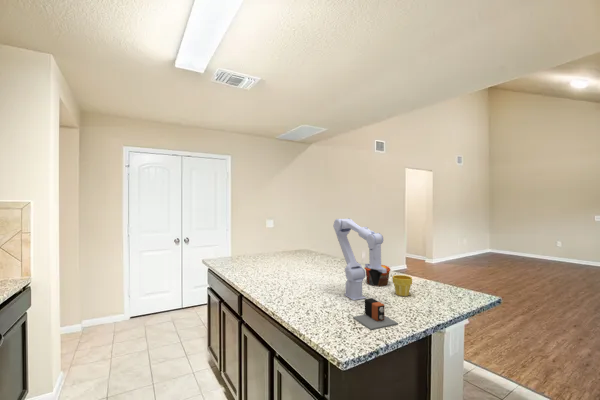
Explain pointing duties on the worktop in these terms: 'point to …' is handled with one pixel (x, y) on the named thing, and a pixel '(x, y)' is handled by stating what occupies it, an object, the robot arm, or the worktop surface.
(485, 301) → the worktop surface
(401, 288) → the plant pot
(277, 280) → the worktop surface
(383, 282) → the food container
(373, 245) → the robot arm
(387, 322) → the mat
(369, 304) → the battery
